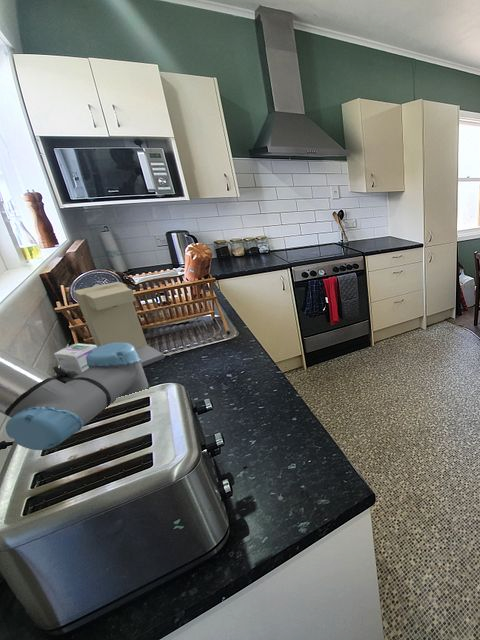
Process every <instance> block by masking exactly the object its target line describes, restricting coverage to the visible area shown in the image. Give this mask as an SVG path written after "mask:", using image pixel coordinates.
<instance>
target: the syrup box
mask: <svg viewBox="0 0 480 640" xmlns="http://www.w3.org/2000/svg"><path fill="white" fill-rule="evenodd" d="M95 348H97V346H96V345H95V344H91V343H90V344H89V343H78V342H77V343H73V344H71V345H67V346H65V347H63V348H61V349H60V350H58V351H56V352H54V353H53V355H54V357H55V360H56V362H57V363H58V367H59V368H60V369H61V370H62V371H63V372H64V373H65V374H66V375H67V377H68V378H71V379H73V378H74V377H76V376H78V375H79V374H81V373H82V372H84V371H85V370H87V369H88V368H89V366H88V365H87V360H86V356H87V355H88V353H89V352H90V351H91V350H93V349H95Z"/></svg>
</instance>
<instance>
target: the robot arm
mask: <svg viewBox="0 0 480 640" xmlns="http://www.w3.org/2000/svg"><path fill="white" fill-rule="evenodd" d="M86 360H87V365H88V366H89V368H88V369H87V370H85V371H84V372H82V373H81V374H79V375H78V376H76V377H74V378H73V379H71V378H68V377H67V375H66V374H65V373H64V372H63V371H62V370H61V368H60V367H59V366H53V367H52V369H53V371H54V373H55V375H53V376H51V375H49V374H47V373H46V372H44V371H43V370H41V369H39V368H37V367H35V366H34V365H32V364H31V363H28V362H27V361H25V360H23V359H21V358H20V357H18V356H16V355H14V354H12V353H11V352H10V351H7V350H5V349H4V348H2V347H0V413H1V414H3V415H5V416H7V417H9V420H8V421H7V423H6V425H5V432H6V434H7V436H8V437H9V438H10V439H13V440H14V443H15V444H17V445H19V446H20V447H22V448H25V449H29V450H33V451H46V450H50V449H53V448H55V447H58V446H59V445H60V444H62V443H63V442H65V441H66V440H67V439H68V438H70V437H72V436H73V435H75V434H76V433H78V432H80V431H81V430H82V429H83V427H84V426H86V425H87V424H88V423H89V422H90V421H91V420H93V419H94V418H95V417H96V416H98V415H99V414H100V413H102V410H104V409H105V408H106V407H108V406H109V405H110V404H111V403H113V402H114V401H115V400H116V398H118V397H121V396H125V395H129V394H132V393H135V392H139V391H142V390H145V389H149V388H150V389H151V387H150V385H149V382H148V379H147V377H146V374H145V371H144V368H143V367H144V366H143V367H142V364H141V359H140V358H139V356H138V354H137V352H136V350H135V348H134V347H133V346H132V345H131V344H129V343H110V344H106V345H102V346H99V347H97V348H95V349H93V350H91V351H90V352H89V353H88V355H87V356H86Z"/></svg>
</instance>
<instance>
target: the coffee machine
mask: <svg viewBox="0 0 480 640" xmlns="http://www.w3.org/2000/svg"><path fill="white" fill-rule="evenodd" d="M72 292H73V294H74V296H75V299H76V302H77V304H78V306H79V309H80V311H81V314H82V316H83V318H84V321H85V323H86V326H87V328H88V331H89V333H90V336H91V338H92V340H93V343H94V345H96V346H97V347H99V346H102V345H106V344H110V343H129V344H131V345H132V346H133V347H134V348H135V350H136V352H137V354H138V356H139V358H140V359H141V364H142V367H145V366H149V365H151V364H153V363H156V362H159V361H161V360H164V359H165V356H164V354H163V353H162V352H161V351H159V350H157V349H155V348H153V347H152V346H150V345H149V344H148V343H147V340H146V337H145V334H144V332H143V329H142V326H141V323H140V320H139V316H138V314H137V311H136V308H135V305H134V302H136V297H135V295H134V292H133V290H132V288H129V287H128V284H125V283H124V282H121V281H115V282H110V283H104V284H99V285H95V286H91V287H85V288H80V289H76V290H73V291H72Z"/></svg>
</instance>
